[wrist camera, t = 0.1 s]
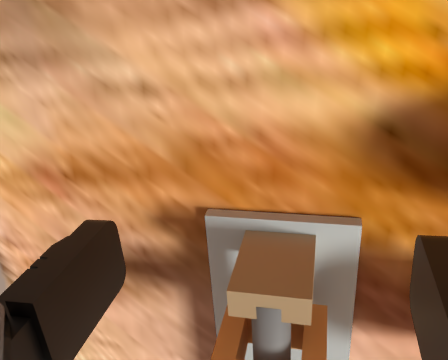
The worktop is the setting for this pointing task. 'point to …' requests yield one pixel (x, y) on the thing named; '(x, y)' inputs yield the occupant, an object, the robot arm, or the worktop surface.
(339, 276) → the pipe stand
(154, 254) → the worktop surface
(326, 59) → the worktop surface
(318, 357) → the collar
